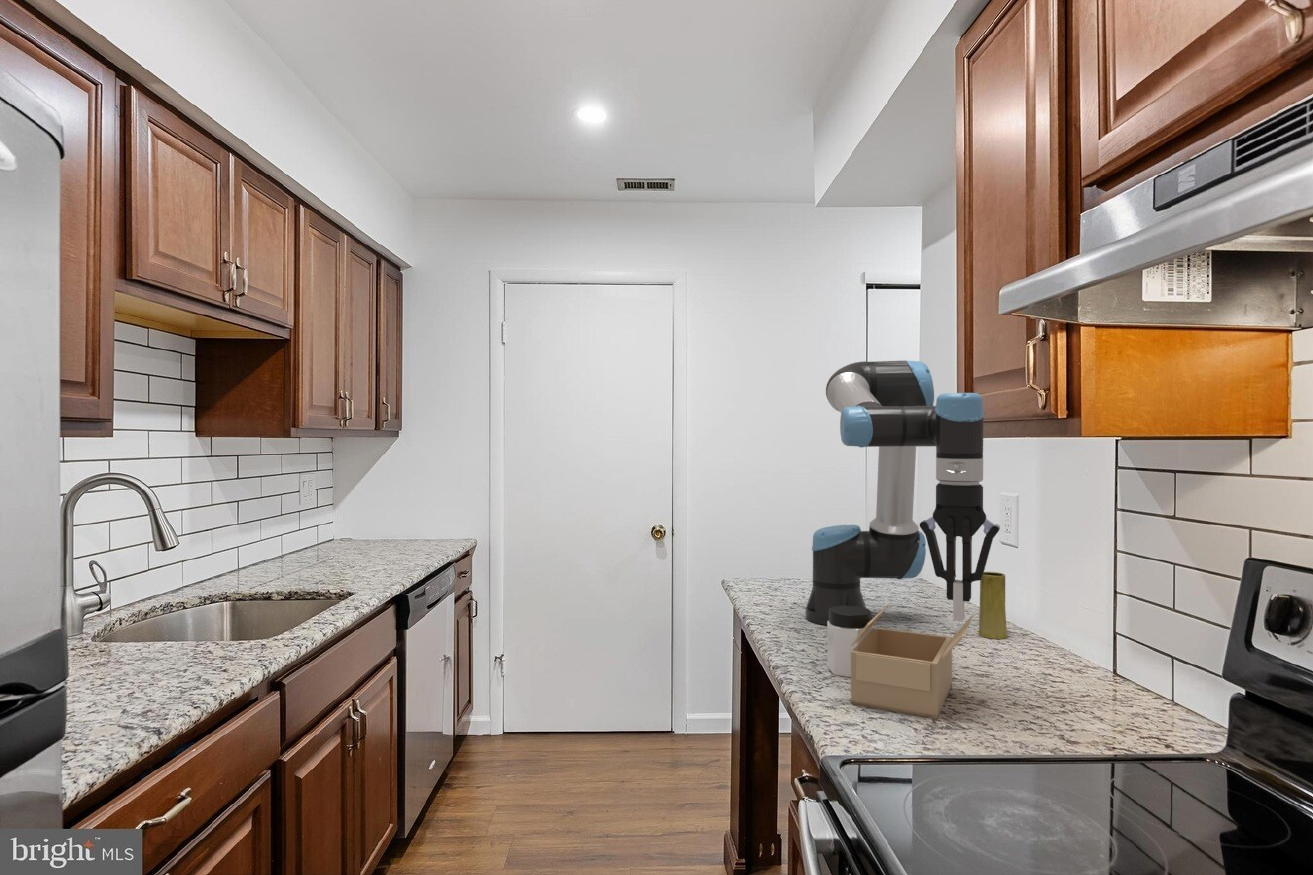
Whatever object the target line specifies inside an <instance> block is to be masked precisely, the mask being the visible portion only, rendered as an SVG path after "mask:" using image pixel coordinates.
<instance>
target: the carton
mask: <svg viewBox="0 0 1313 875" xmlns="http://www.w3.org/2000/svg"><path fill="white" fill-rule="evenodd" d="M952 638H953V636H946V635H941V634H940V635H938V634H931V633H923V632H914V631H906V630H898V629H890V628H882V627H874V629H873V630H872V631H871V632H870V633H869V634H868V635H867V636H866V637H865V638H864V639H863V640H862V641H861V642H860V643H859V644H858V645H857V646H856V647H855V648H854V649H853V650H852V651H851V677H850V704H851V705H856V706H861V707H867V708H872V709H878V710H883V711H889V712H894V713H900V714H905V715H912V716H917V717H921V718H923V717H924V718H930V719H934V720H935V719H936V720H938V718H939V715H940V713H941V711H942V709H943V707H944V705H945V702H946V700H947V698H948V695H949V693H950V691H951V689H952V687H953V649H952V650H951V651H950V652H949V653H948V654H947V655H946V656H945V657H944V658H942V656H943V654H944V652H945V650H946V649H947V647H948V645H949V643H950V641H951V640H952Z"/></svg>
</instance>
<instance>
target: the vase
mask: <svg viewBox="0 0 1313 875" xmlns="http://www.w3.org/2000/svg"><path fill="white" fill-rule="evenodd" d="M1006 615H1007V614H1006V574H1005V573H1002V572H996V571H984V574H983V577H982V578H981V580H979V615H978V616H979V618H978V619H979V621H978V622H979V623H978V625H979V626H978V635H979V636H980V637H982V638H986V639H993V640H1004V639H1007V638H1008V632H1007V631H1008V629H1007V627H1008V626H1007V617H1006Z"/></svg>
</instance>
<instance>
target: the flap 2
mask: <svg viewBox="0 0 1313 875" xmlns="http://www.w3.org/2000/svg"><path fill="white" fill-rule="evenodd" d="M973 618H975V617H974V615H973V614H972V615H971V616H970V617H969V618H968V619H967V620H966V621H965V622H964V624H962V625H961V626H960V627H959V629H958V630H956V632H955V633H953V636H952V640H951V641H950V643H949V645H948V647H947V649H946V650H945V652H944V654H943V656H942V658H944V657H945V656H946V655H947V654H948V653H949V652H950V651H951V650H952V651H953V649H954V648H955V647H956V646H957V645H958V644H959V643H960V642H961V640H962V639H963V638H964V636H965V634H966V633H967V631H968V628H969V627H970V625H971V623H972V621H973Z"/></svg>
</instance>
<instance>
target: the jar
mask: <svg viewBox="0 0 1313 875" xmlns="http://www.w3.org/2000/svg"><path fill="white" fill-rule="evenodd" d="M872 619H873V615H872V611H871V610H870V609H869V608H867V607H866V608H863V607H858V606H835V607H831V608H830V609H829V621H827V625H826V626H827V628H826V630H827V634H826V635H827V636H826V637H827V639H826V640H827V641H826V642H827V645H826V646H827V647H826V648H827V649H826V651H827V661H826V663H827V664H826V665H827V668H828V670H829V671H830V672H831V673H832V674H833V675H834V676H838V677H846V678H851V651H852V650H853V649H854V648H855V647H856V646H857V645H858V644H859V643H860V642H861V641H862V640H863V639H864V638H865V637H866V636H867V635H868V634H869V633H870V632H871V631H872V630H873V629H874V628H875V627H874V625H873V626H872V627H871V628H870V629H869V630H868V631H867V632H866V633H865V634H864V635H863V636H862V637H861V638H860V639H859V640H858V641H857V642H856V643H855V644H854V645H853V646H852V645H851V644H852V643H853V642H854V640H855V639H856V638H857V637H858V635H859V634H860V633H861V631H862V630H863V629H864V627H865V626H866V625H867V624H868V623H869V622H870V621H871V620H872Z"/></svg>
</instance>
